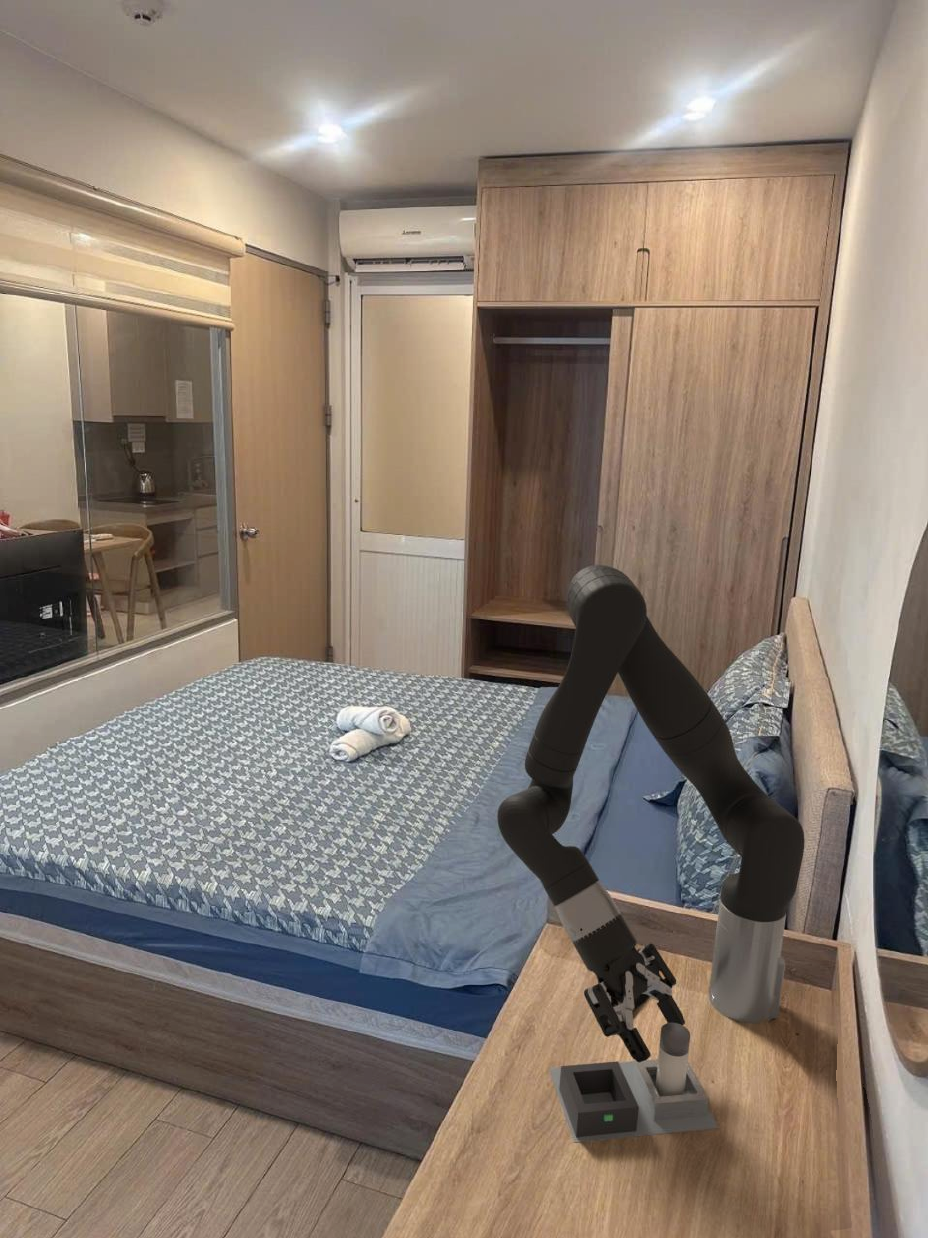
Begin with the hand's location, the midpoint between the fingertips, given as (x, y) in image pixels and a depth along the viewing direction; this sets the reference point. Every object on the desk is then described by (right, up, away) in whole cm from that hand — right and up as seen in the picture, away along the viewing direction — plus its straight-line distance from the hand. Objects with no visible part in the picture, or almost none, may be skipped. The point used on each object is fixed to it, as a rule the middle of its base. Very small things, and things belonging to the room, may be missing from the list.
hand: (662, 1043), depth 110 cm
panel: (-4, -8, 0) cm, 9 cm away
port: (-9, -7, -2) cm, 12 cm away
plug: (+1, -7, +1) cm, 7 cm away
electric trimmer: (-1, -4, +19) cm, 19 cm away
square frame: (+1, -7, +1) cm, 7 cm away
